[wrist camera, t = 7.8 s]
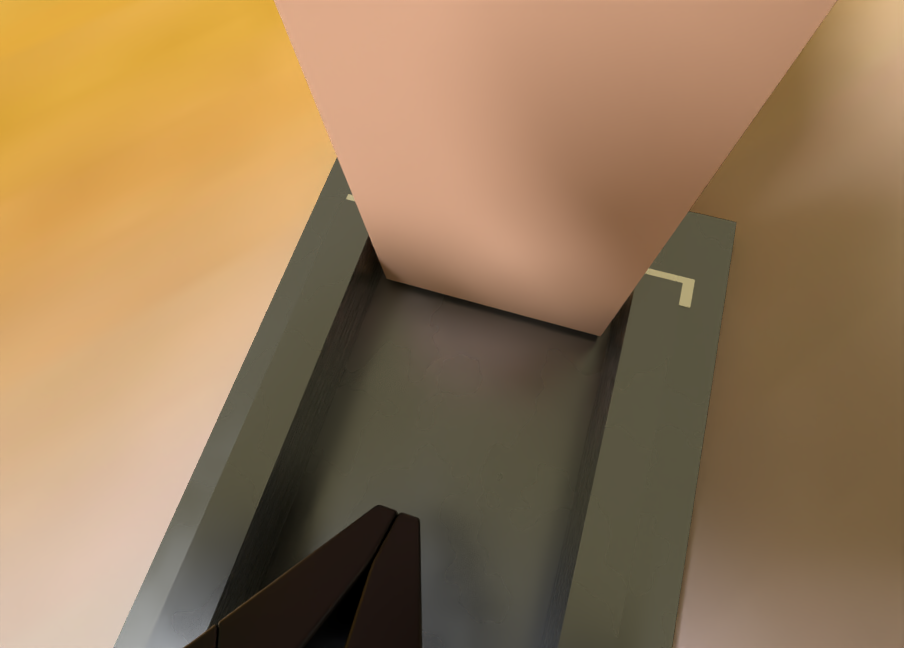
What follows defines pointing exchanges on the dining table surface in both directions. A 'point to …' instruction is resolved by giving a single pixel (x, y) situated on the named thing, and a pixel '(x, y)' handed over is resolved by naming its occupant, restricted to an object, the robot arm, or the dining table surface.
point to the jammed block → (537, 132)
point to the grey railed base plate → (457, 448)
